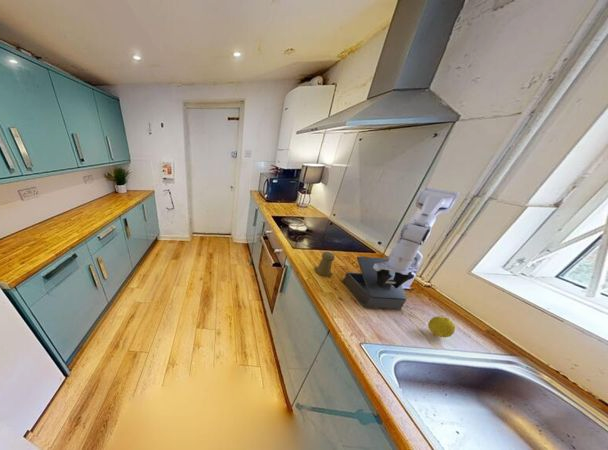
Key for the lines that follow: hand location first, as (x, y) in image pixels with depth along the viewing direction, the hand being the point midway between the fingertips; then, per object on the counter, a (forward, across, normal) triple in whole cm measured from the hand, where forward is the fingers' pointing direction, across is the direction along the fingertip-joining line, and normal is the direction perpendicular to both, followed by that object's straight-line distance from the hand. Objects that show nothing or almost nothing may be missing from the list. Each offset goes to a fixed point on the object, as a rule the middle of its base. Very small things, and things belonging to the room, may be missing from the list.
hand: (386, 285), depth 76 cm
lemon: (+9, +10, -13) cm, 19 cm away
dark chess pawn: (+10, -13, +19) cm, 25 cm away
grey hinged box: (+9, 0, +5) cm, 11 cm away
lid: (-1, 0, +4) cm, 4 cm away
